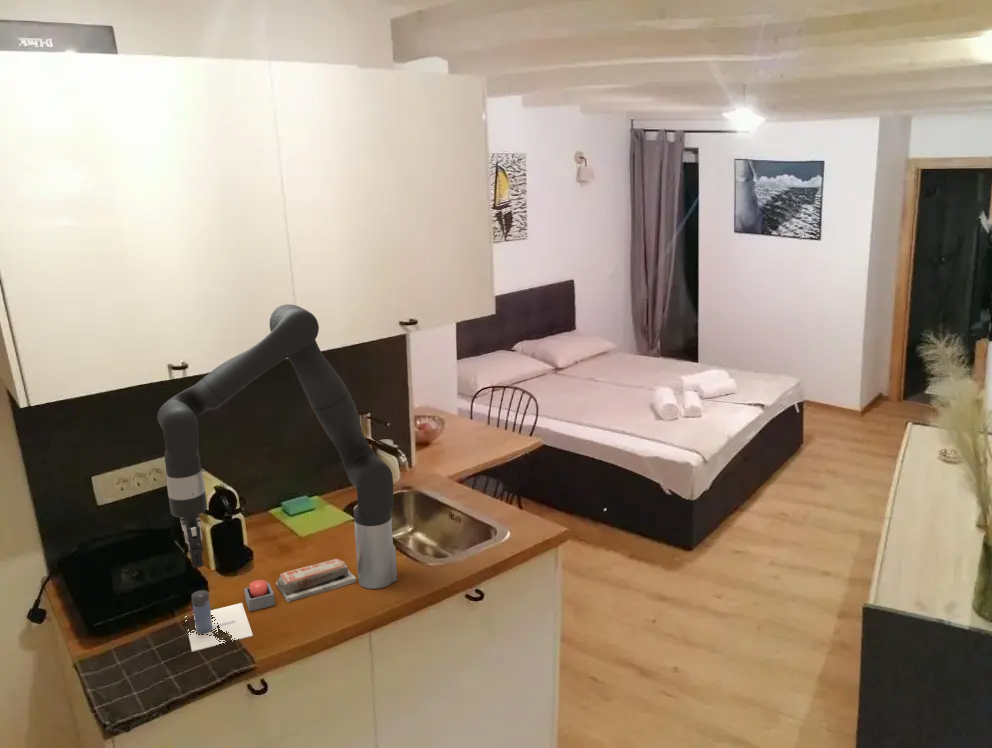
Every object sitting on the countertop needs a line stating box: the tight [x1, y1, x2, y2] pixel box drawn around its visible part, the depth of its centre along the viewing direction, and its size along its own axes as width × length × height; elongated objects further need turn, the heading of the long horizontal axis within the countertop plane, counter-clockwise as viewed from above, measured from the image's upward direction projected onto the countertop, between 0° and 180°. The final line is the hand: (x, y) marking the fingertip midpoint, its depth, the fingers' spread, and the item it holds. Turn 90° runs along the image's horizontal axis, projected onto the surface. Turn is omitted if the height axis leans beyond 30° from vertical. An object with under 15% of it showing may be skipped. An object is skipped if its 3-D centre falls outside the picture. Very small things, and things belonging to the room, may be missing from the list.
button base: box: [243, 582, 276, 613], centre depth 190 cm, size 6×6×3 cm
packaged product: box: [275, 558, 357, 603], centre depth 199 cm, size 18×5×10 cm
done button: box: [249, 579, 268, 598], centre depth 190 cm, size 4×4×3 cm
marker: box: [191, 589, 213, 634], centre depth 179 cm, size 4×4×9 cm
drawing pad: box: [184, 602, 254, 653], centre depth 181 cm, size 13×15×1 cm
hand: (195, 558), depth 175 cm, fingers open, 8 cm apart
